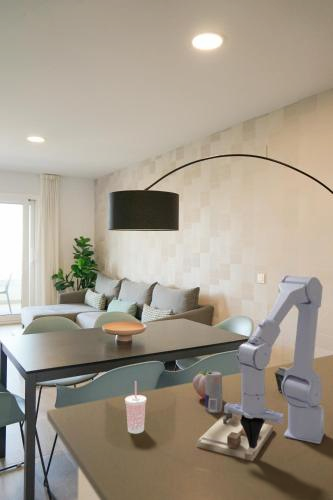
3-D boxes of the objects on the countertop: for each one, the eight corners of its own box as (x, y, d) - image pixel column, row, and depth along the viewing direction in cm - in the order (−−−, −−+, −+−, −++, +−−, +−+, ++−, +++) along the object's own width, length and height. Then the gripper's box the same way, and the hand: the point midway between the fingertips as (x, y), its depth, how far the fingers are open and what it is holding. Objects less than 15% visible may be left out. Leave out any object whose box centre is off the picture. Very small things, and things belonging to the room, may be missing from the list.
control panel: (273, 430, 117) (273, 420, 117) (252, 461, 100) (252, 449, 100) (223, 420, 124) (223, 410, 124) (196, 446, 107) (196, 436, 107)
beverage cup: (137, 423, 122) (136, 376, 122) (150, 430, 117) (150, 381, 117) (120, 429, 118) (120, 381, 117) (134, 436, 113) (134, 386, 113)
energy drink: (211, 405, 135) (211, 369, 135) (225, 409, 132) (225, 372, 132) (202, 410, 131) (202, 373, 131) (216, 415, 128) (216, 376, 128)
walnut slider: (240, 443, 105) (240, 434, 105) (236, 448, 103) (236, 438, 103) (231, 441, 106) (231, 431, 106) (227, 446, 104) (227, 436, 104)
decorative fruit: (224, 400, 140) (224, 371, 140) (206, 405, 135) (206, 375, 135) (207, 392, 148) (207, 364, 148) (188, 397, 143) (188, 368, 143)
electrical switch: (304, 397, 143) (303, 371, 142) (294, 401, 140) (292, 375, 140) (284, 389, 151) (282, 364, 151) (274, 393, 148) (272, 368, 148)
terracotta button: (257, 433, 113) (257, 422, 113) (253, 438, 109) (253, 427, 109) (244, 430, 114) (244, 419, 114) (240, 435, 111) (240, 424, 111)
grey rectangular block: (230, 417, 121) (234, 409, 121) (227, 420, 119) (230, 413, 118) (228, 415, 122) (232, 408, 121) (224, 419, 119) (228, 411, 119)
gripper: (219, 391, 102) (219, 446, 102) (278, 402, 95) (278, 461, 95) (229, 383, 108) (229, 435, 108) (285, 393, 101) (285, 448, 101)
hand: (253, 446), depth 102 cm, fingers closed
